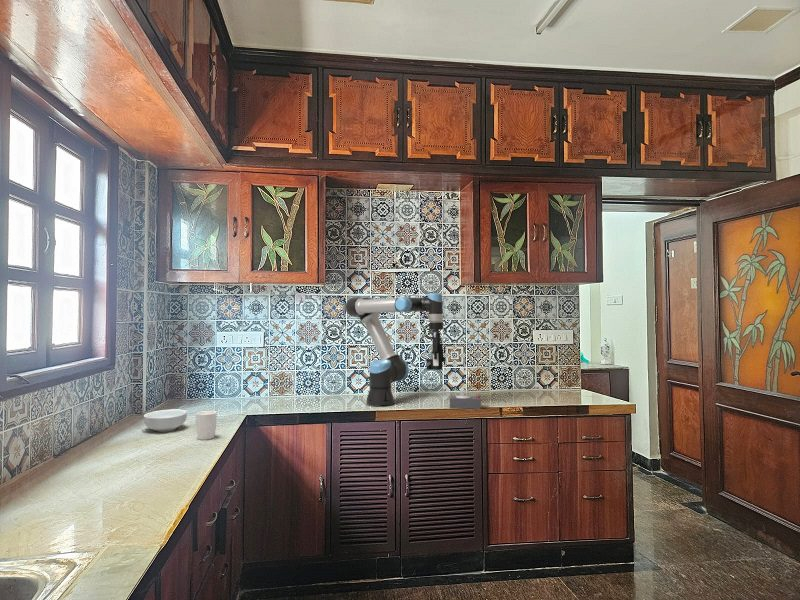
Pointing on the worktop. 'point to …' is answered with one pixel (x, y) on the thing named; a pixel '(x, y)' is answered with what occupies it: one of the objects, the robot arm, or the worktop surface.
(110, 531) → the worktop surface
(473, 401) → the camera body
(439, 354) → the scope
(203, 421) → the white cup
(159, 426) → the cereal bowl
